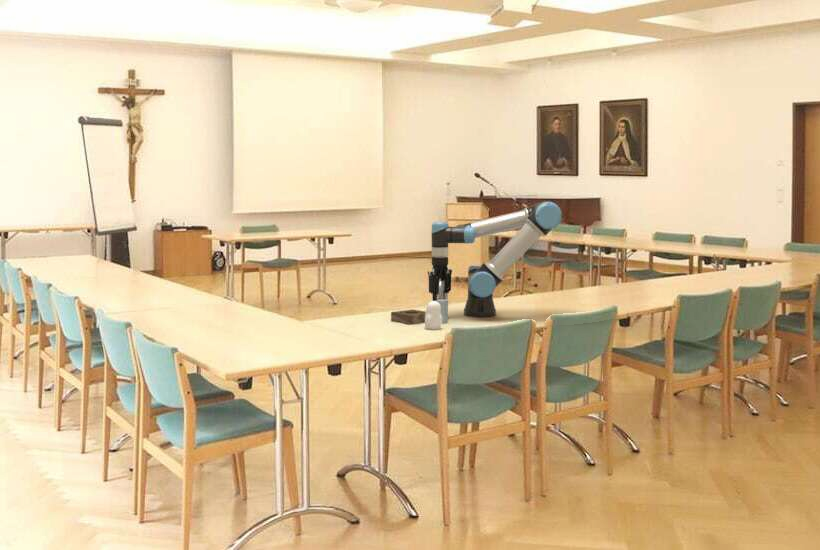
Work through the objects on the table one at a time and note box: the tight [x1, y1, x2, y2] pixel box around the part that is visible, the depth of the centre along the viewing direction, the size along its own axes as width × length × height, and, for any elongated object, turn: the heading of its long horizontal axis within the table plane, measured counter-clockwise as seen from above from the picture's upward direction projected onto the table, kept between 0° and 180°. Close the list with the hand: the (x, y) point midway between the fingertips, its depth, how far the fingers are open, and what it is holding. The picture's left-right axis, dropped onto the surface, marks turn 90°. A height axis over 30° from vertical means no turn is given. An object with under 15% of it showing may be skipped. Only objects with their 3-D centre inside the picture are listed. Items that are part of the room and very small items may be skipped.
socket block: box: [390, 308, 426, 326], centre depth 398 cm, size 13×13×4 cm
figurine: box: [424, 300, 442, 331], centre depth 380 cm, size 7×8×12 cm
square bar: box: [436, 299, 449, 325], centre depth 395 cm, size 4×4×10 cm
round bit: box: [437, 279, 445, 300], centre depth 406 cm, size 4×4×16 cm
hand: (440, 307), depth 406 cm, fingers closed on round bit, 4 cm apart
